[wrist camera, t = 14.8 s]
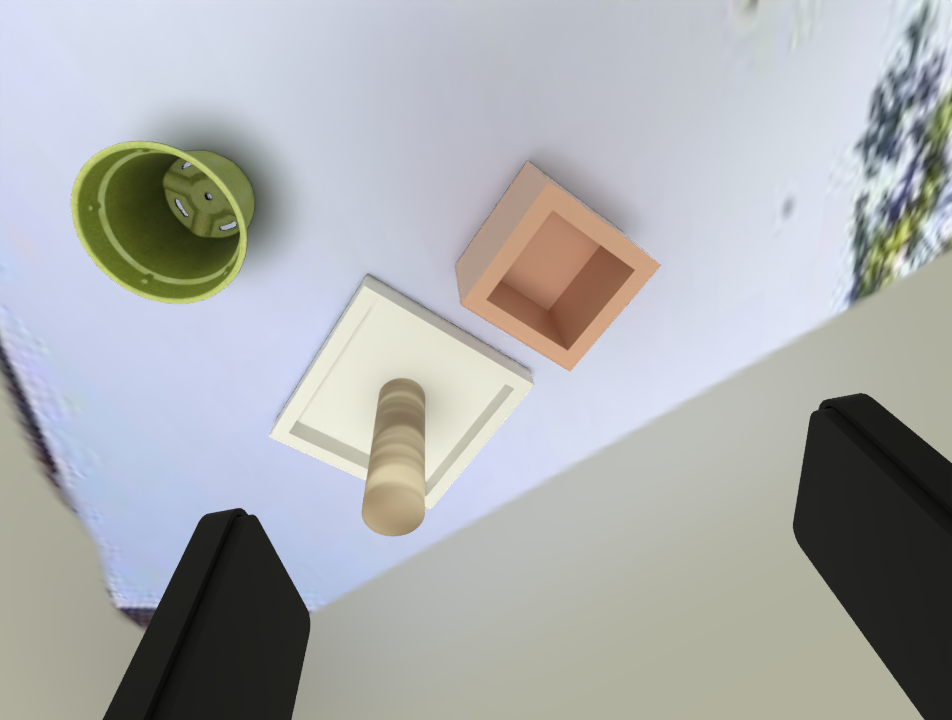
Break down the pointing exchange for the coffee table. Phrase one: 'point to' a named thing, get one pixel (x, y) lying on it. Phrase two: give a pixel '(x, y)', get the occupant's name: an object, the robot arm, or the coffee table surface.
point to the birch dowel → (397, 461)
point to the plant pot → (163, 219)
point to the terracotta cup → (550, 269)
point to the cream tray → (390, 357)
